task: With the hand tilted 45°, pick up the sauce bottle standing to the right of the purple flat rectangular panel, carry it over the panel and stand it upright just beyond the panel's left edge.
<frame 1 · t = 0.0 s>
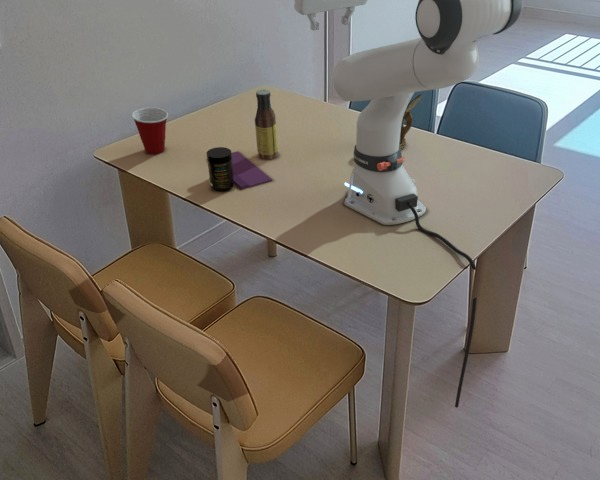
hand: (330, 26, 169), 39 cm above the table, tool pointing down, fingers open, 8 cm apart
wooden mug: (396, 147, 201), on the table
supplement container: (222, 187, 183), on the table
purple flat rectangular panel: (239, 170, 191), on the table
plastic cup: (156, 151, 203), on the table
sauce bottle: (267, 156, 198), on the table
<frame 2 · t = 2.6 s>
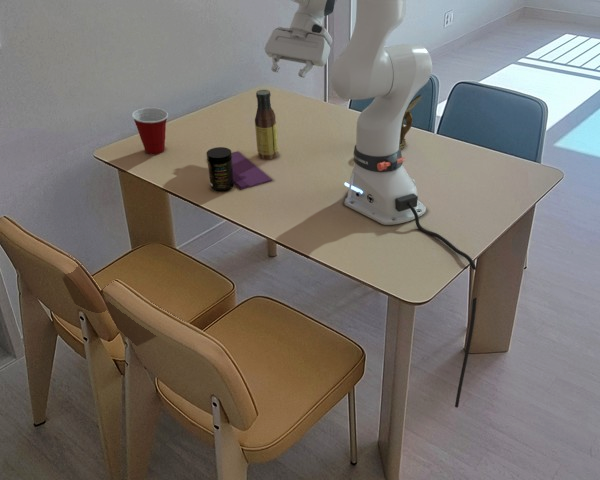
hand: (287, 73, 193), 21 cm above the table, tool tilted 45°, fingers open, 8 cm apart
nothing on the table moved.
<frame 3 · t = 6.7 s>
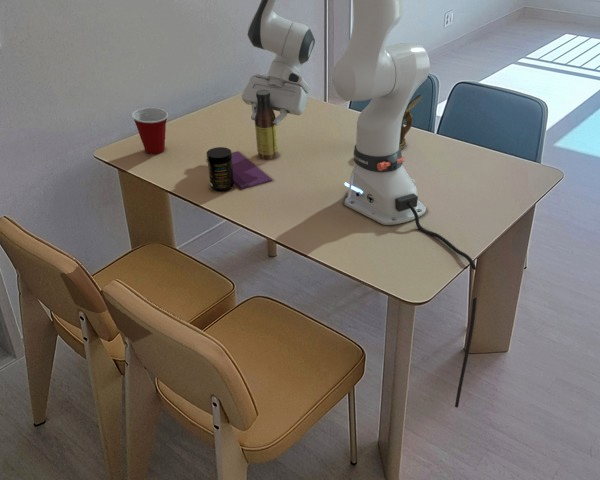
hand: (264, 122, 191), 11 cm above the table, tool tilted 45°, fingers closed on sauce bottle, 6 cm apart
sauce bottle: (267, 156, 198), on the table, touching gripper
everything else where it was.
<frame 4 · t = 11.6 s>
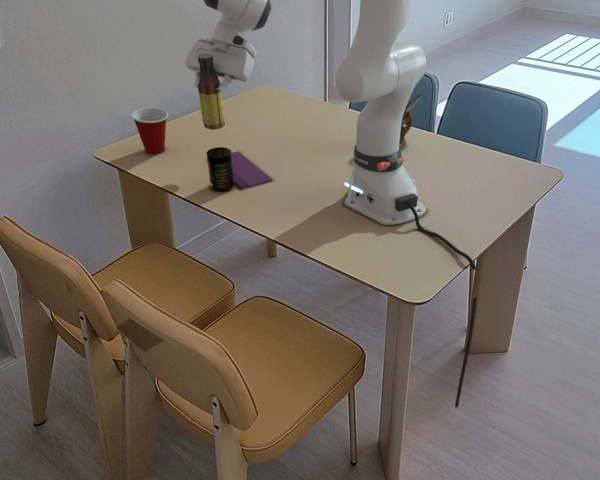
hand: (208, 89, 178), 23 cm above the table, tool tilted 45°, fingers closed on sauce bottle, 6 cm apart
sauce bottle: (214, 127, 185), point 12 cm above the table, touching gripper
everything else where it was.
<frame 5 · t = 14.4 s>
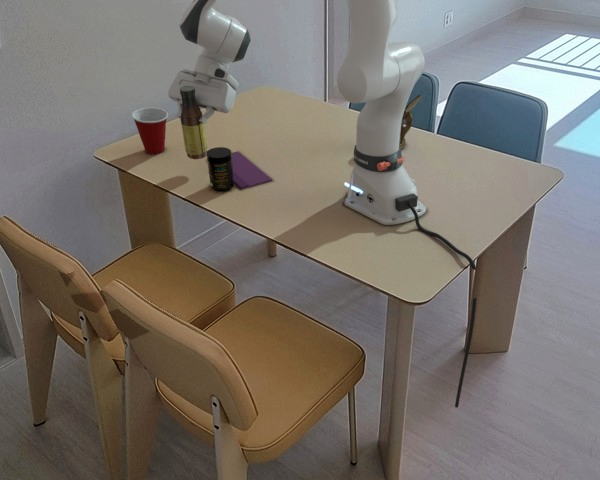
hand: (190, 120, 180), 16 cm above the table, tool tilted 45°, fingers closed on sauce bottle, 6 cm apart
sauce bottle: (196, 156, 188), point 5 cm above the table, touching gripper
everything else where it was.
when the fingers open (11 cm above the table, at t = 16.4 s): sauce bottle stays where it is, on the table.
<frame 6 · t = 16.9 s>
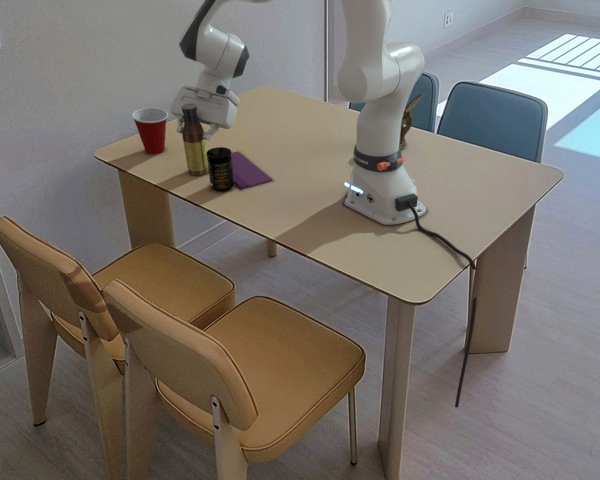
hand: (192, 136, 183), 11 cm above the table, tool tilted 45°, fingers open, 8 cm apart
sauce bottle: (198, 172, 191), on the table
everything else where it was.
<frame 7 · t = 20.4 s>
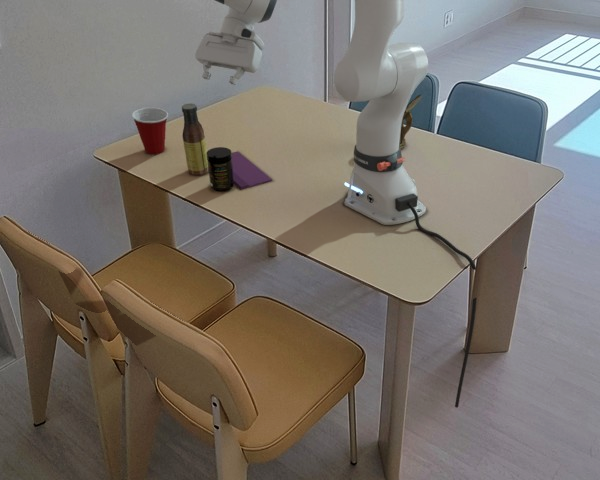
hand: (218, 81, 185), 23 cm above the table, tool tilted 45°, fingers open, 8 cm apart
nothing on the table moved.
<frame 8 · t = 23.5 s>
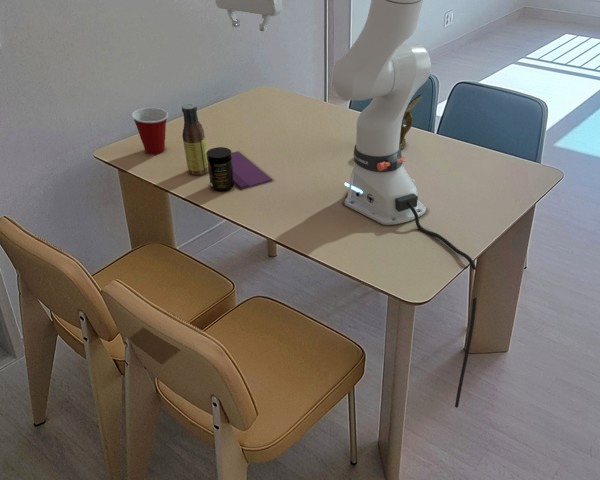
hand: (249, 28, 182), 35 cm above the table, tool pointing down, fingers open, 8 cm apart
nothing on the table moved.
at the end: sauce bottle inside the target area on the table beside the purple flat rectangular panel (4.5 cm from its centre), on the table; sauce bottle tilted 0°; the gripper is holding nothing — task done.
